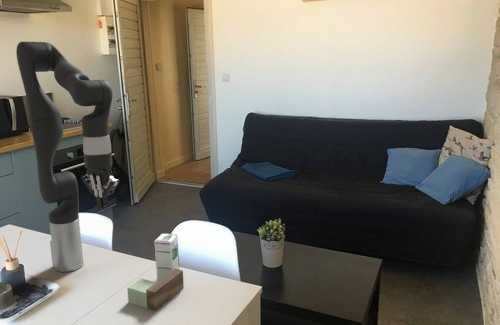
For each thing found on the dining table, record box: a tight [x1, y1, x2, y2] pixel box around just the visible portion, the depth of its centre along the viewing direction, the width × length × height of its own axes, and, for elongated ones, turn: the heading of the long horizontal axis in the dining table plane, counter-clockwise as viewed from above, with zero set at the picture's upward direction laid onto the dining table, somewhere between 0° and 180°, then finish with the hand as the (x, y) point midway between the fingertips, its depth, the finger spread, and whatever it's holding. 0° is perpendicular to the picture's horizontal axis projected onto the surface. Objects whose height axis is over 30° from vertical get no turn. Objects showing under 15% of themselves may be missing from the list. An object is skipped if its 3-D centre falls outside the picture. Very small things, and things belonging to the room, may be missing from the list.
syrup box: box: [154, 233, 181, 282], centre depth 138 cm, size 6×6×14 cm
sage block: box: [127, 277, 157, 309], centre depth 127 cm, size 7×6×5 cm
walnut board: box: [146, 268, 185, 312], centre depth 128 cm, size 3×14×6 cm, turn 154°
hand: (102, 208), depth 126 cm, fingers closed
